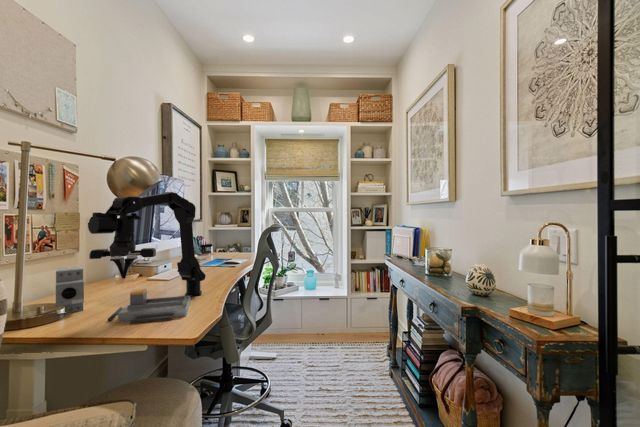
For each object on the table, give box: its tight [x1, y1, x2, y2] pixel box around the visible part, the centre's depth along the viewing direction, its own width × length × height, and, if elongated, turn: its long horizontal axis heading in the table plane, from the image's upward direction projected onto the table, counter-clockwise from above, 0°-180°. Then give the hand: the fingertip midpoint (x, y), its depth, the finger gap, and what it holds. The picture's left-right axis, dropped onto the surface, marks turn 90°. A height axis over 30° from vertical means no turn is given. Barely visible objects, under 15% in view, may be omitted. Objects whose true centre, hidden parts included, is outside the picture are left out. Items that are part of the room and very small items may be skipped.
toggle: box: [129, 288, 148, 305], centre depth 109 cm, size 5×4×5 cm
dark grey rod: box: [107, 306, 124, 322], centre depth 107 cm, size 12×1×1 cm, turn 18°
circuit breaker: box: [55, 266, 85, 314], centre depth 111 cm, size 8×14×15 cm, turn 39°
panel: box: [117, 295, 191, 323], centre depth 110 cm, size 16×20×4 cm
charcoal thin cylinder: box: [129, 316, 173, 325], centre depth 100 cm, size 12×1×1 cm, turn 108°
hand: (123, 278), depth 107 cm, fingers closed
